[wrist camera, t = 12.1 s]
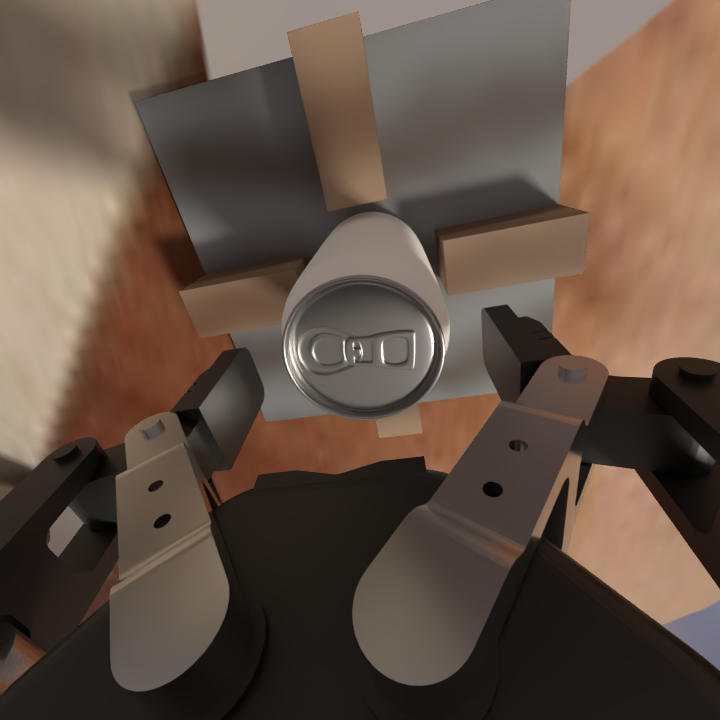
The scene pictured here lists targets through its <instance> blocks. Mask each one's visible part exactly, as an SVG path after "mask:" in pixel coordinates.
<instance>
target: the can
mask: <svg viewBox="0 0 720 720" xmlns="http://www.w3.org/2000/svg"><path fill="white" fill-rule="evenodd" d="M449 336H450V324H449V315H448V311H447V307H446V304H445V300H444V298H443V295H442V292H441V290H440V287H439V285H438V282H437V280H436V278H435V275H434V273H433V270H432V268H431V266H430V263H429V261H428V259H427V256H426V254H425V252H424V249H423V247H422V245H421V243H420V241H419V239H418V237H417V236H416V234H415V233H414V232H413V230H412V229H411V228H410V227H409V226H408V225H407V224H405V223H404V222H403V221H401V220H400V219H398V218H396V217H394V216H392V215H389V214H386V213H381V212H365V213H360V214H357V215H354V216H352V217H350V218H348V219H346V220H344V221H343V222H342V223H340V224H339V225H338V226H337V227H336V228H335V229H334V230H333V231H332V232H331V234H330V235H329V236H328V237H327V239H326V240H325V241H324V243H323V244H322V246H321V247H320V248H319V250H318V251H317V253H316V254H315V255H314V257H313V258H312V260H311V261H310V262H309V264H308V265H307V267H306V268H305V270H304V271H303V272H302V274H301V275H300V277H299V278H298V280H297V281H296V283H295V285H294V286H293V288H292V290H291V292H290V294H289V296H288V298H287V301H286V304H285V307H284V311H283V316H282V356H283V361H284V365H285V368H286V370H287V373H288V375H289V377H290V379H291V380H292V382H293V384H294V385H295V386H296V388H297V389H298V390H299V391H300V392H301V394H302V395H303V396H304V397H306V398H307V399H308V400H309V401H310V402H312V403H313V404H314V405H316V406H317V407H319V408H321V409H322V410H324V411H326V412H329V413H331V414H334V415H336V416H340V417H343V418H348V419H354V420H378V419H384V418H388V417H392V416H395V415H398V414H400V413H402V412H405V411H406V410H408V409H410V408H412V407H413V406H415V405H416V404H418V403H419V402H420V401H421V400H422V399H423V398H425V397H426V396H427V394H428V393H429V392H430V391H431V390H432V388H433V387H434V385H435V384H436V382H437V380H438V379H439V376H440V374H441V372H442V369H443V365H444V360H445V354H446V351H447V347H448V343H449Z"/></svg>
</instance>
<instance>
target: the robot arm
mask: <svg viewBox="0 0 720 720" xmlns="http://www.w3.org/2000/svg"><path fill="white" fill-rule="evenodd" d="M481 322H482V345H483V358H484V363H485V367H486V370H487V372H488V374H489V376H490V378H491V380H492V382H493V384H494V386H495V388H496V390H497V392H498V394H499V396H500V398H501V400H502V401H501V402H500V403H499V404H498V406H497V407H496V409H495V410H494V411H493V413H492V414H491V416H490V417H489V418H488V420H487V421H486V423H485V424H484V425H483V427H482V428H481V430H480V431H479V432H478V434H477V435H476V437H475V438H474V439H473V441H472V442H471V444H470V445H469V446H468V448H467V449H466V451H465V452H464V453H463V455H462V456H461V458H460V459H459V460H458V462H457V463H456V465H455V466H454V467H453V469H452V470H451V472H450V473H449V474H447V473H444V472H439V471H434V470H426V466H425V460H424V456H422V457H413V458H404V459H395V460H386V461H380V462H377V463H373V464H370V465H367V466H364V467H361V468H357V469H354V470H351V471H348V472H345V473H341V474H325V473H316V472H307V471H298V470H297V471H288V472H279V473H270V474H261V475H258V477H257V480H256V482H255V485H254V488H253V489H250V490H248V491H245V492H243V493H241V494H239V495H237V496H235V497H233V498H231V499H229V500H228V501H226V502H223V500H222V497H221V495H220V493H219V490H218V488H217V485H216V483H215V481H214V480H213V478H212V476H211V475H212V474H213V472H214V471H222V470H231V468H232V466H233V464H234V462H235V460H236V458H237V456H238V454H239V452H240V450H241V447H242V445H243V443H244V441H245V439H246V437H247V435H248V433H249V431H250V429H251V427H252V424H253V422H254V420H255V418H256V416H257V414H258V412H259V410H260V408H261V406H262V404H263V401H264V396H265V393H264V386H263V383H262V381H261V378H260V376H259V373H258V371H257V368H256V366H255V363H254V361H253V358H252V356H251V353H250V352H249V350H248V349H247V348H245V347H244V348H238V349H232V350H226V351H223V352H222V353H221V355H220V356H219V357H218V358H217V360H216V361H215V362H214V363H213V365H212V366H211V367H210V368H209V369H208V370H206V371H205V372H204V373H202V374H201V375H200V376H199V377H198V378H197V379H196V381H195V382H194V383H193V385H192V386H191V387H190V388H189V389H188V390H187V393H185V394H184V395H183V397H182V398H181V399H180V400H179V401H178V403H177V404H176V405H175V406H174V407H173V409H172V410H171V411H170V412H165V413H160V414H157V415H154V416H152V417H149V418H147V419H145V420H143V421H142V422H140V423H139V424H137V425H136V426H135V427H133V428H132V429H131V430H130V431H129V432H128V434H127V435H126V437H125V443H123V444H120V445H117V446H114V447H111V448H108V449H105V450H103V449H102V447H101V446H100V445H99V443H98V442H97V441H96V439H95V438H92V437H87V438H82V439H78V440H75V441H73V442H70V443H68V444H66V445H64V446H62V447H60V448H59V449H57V450H56V451H54V452H53V453H51V454H50V455H49V456H47V457H46V458H45V459H44V460H43V461H42V462H41V463H40V464H39V465H38V466H37V467H36V468H35V469H34V470H33V471H31V472H30V473H29V474H28V475H27V476H26V477H25V478H24V479H23V480H22V481H21V482H20V483H19V484H18V485H17V486H16V487H15V488H14V489H13V490H12V491H11V492H9V493H8V494H7V495H6V496H5V497H4V498H3V499H2V500H1V501H0V720H720V671H719V670H718V669H717V668H716V667H715V666H713V665H712V664H711V663H710V662H709V661H708V660H706V659H705V658H704V657H703V656H701V655H700V654H699V653H698V652H696V651H695V650H694V649H692V648H691V647H690V646H689V645H687V644H686V643H684V642H683V641H682V640H680V639H679V638H678V637H676V636H675V635H674V634H672V633H671V632H670V631H668V630H667V629H666V628H664V627H663V626H662V625H660V624H659V623H658V622H656V621H655V620H654V619H652V618H651V617H650V616H648V615H647V614H646V613H644V612H643V611H642V610H640V609H639V608H638V607H636V606H635V605H634V604H632V603H631V602H630V601H628V600H627V599H626V598H624V597H623V596H622V595H620V594H619V593H618V592H616V591H615V590H614V589H612V588H611V587H610V586H608V585H607V584H606V583H604V582H603V581H602V580H600V579H599V578H598V577H596V576H595V575H594V574H592V573H591V572H590V571H588V570H587V569H586V568H584V567H583V566H582V565H580V564H579V563H578V562H576V561H575V560H574V559H572V558H571V557H570V556H568V555H567V551H568V547H569V543H570V539H571V535H572V530H573V526H574V523H575V519H576V516H577V514H578V511H579V508H580V505H581V503H582V500H583V497H584V494H585V491H586V489H587V486H588V483H589V480H590V478H591V475H592V472H593V469H594V466H595V464H600V465H608V466H616V467H623V468H631V469H635V470H636V472H637V473H638V475H639V476H640V478H641V479H642V480H643V482H644V483H645V485H646V486H647V487H648V489H649V490H650V492H651V493H652V494H653V496H654V497H655V499H656V500H657V501H658V503H659V504H660V506H661V507H662V508H663V510H664V511H665V513H666V514H667V515H668V517H669V518H670V520H671V521H672V522H673V524H674V525H675V527H676V528H677V530H678V531H679V532H680V534H681V535H682V537H683V538H684V539H685V541H686V542H687V544H688V545H689V546H690V548H691V549H692V551H693V552H694V553H695V555H696V556H697V558H698V559H699V560H700V562H701V563H702V565H703V566H704V567H705V569H706V570H707V572H708V573H709V574H710V576H711V577H712V579H713V580H714V581H715V583H716V584H717V586H718V587H719V588H720V363H718V362H714V361H711V360H706V359H700V358H689V357H679V358H670V359H666V360H663V361H660V362H659V363H657V364H656V365H655V366H654V369H653V373H652V378H640V377H619V376H610V375H609V372H608V369H607V368H606V367H605V366H604V365H603V364H602V363H600V362H598V361H596V360H594V359H591V358H588V357H583V356H576V355H571V354H570V353H569V351H568V350H567V349H566V348H565V347H564V346H563V345H562V344H561V343H560V342H559V341H558V340H557V339H556V338H554V336H553V335H552V334H551V333H550V332H549V331H548V329H547V328H546V327H545V326H544V325H543V324H542V323H541V322H539V321H537V320H535V319H532V318H530V317H528V316H525V317H518V316H517V315H516V314H515V313H514V312H513V310H512V309H511V308H510V307H509V306H508V305H507V304H505V305H499V306H493V307H487V308H482V311H481ZM67 506H69V507H70V508H71V509H72V510H73V511H74V512H75V514H76V515H77V516H78V517H79V518H80V519H81V520H82V522H83V523H84V524H83V525H82V527H81V528H80V529H79V531H78V532H77V533H76V535H75V536H74V537H73V539H72V540H71V541H70V543H69V544H68V545H67V547H66V548H65V549H64V551H63V552H62V553H61V555H60V556H59V557H57V556H56V555H55V554H54V553H53V552H52V551H51V550H50V549H49V548H48V546H47V541H46V539H47V533H48V531H49V528H50V527H51V526H52V524H53V523H54V522H55V521H56V520H57V518H58V517H59V516H60V515H61V514H62V512H63V511H64V510H65V509H66V507H67ZM118 559H119V581H118V582H117V583H116V584H115V585H113V587H112V589H111V592H110V599H109V600H108V601H107V602H106V603H105V604H104V605H102V606H101V607H100V608H99V609H98V610H96V611H95V612H94V613H93V614H92V615H91V616H89V617H88V618H87V619H86V620H85V621H84V622H83V623H81V624H80V622H81V621H82V619H83V617H84V615H85V614H86V612H87V611H88V609H89V607H90V606H91V604H92V602H93V601H94V599H95V597H96V596H97V594H98V592H99V590H100V589H101V587H102V585H103V583H104V582H105V580H106V579H107V577H108V575H109V574H110V572H111V570H112V569H113V567H114V565H115V564H116V562H117V560H118ZM79 624H80V625H79Z"/></svg>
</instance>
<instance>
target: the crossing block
mask: <svg viewBox="0 0 720 720" xmlns="http://www.w3.org/2000/svg"><path fill="white" fill-rule="evenodd" d="M570 3H571V0H491V1H488V2H484V3H481V4H477V5H474V6H470V7H467V8H463V9H460V10H456V11H453V12H449V13H446V14H442V15H438V16H435V17H432V18H428V19H425V20H421V21H418V22H414V23H410V24H407V25H403V26H400V27H396V28H393V29H389V30H386V31H382V32H379V33H375V34H372V35H368V36H365V37H363V35H362V29H361V24H360V18H359V13H358V11H357V12H354V13H351V14H347V15H344V16H341V17H337V18H334V19H331V20H327V21H324V22H320V23H317V24H313V25H310V26H307V27H304V28H300V29H297V30H293V31H290V32H287V34H288V39H289V43H290V47H291V52H292V56H293V57H291V58H288V59H284V60H280V61H277V62H273V63H270V64H266V65H263V66H259V67H256V68H253V69H249V70H245V71H242V72H238V73H235V74H231V75H228V76H225V77H220V78H217V79H213V80H210V81H206V82H203V83H199V84H196V85H192V86H189V87H185V88H182V89H178V90H175V91H171V92H168V93H164V94H161V95H157V96H154V97H150V98H147V99H143V100H140V101H136V102H134V103H135V105H136V107H137V110H138V112H139V115H140V117H141V120H142V122H143V124H144V127H145V129H146V132H147V134H148V136H149V139H150V141H151V144H152V146H153V149H154V151H155V153H156V156H157V158H158V161H159V163H160V166H161V168H162V170H163V173H164V175H165V178H166V180H167V183H168V185H169V187H170V190H171V192H172V195H173V197H174V200H175V202H176V204H177V207H178V209H179V212H180V214H181V217H182V219H183V221H184V224H185V226H186V229H187V231H188V234H189V236H190V238H191V241H192V243H193V246H194V248H195V250H196V253H197V255H198V258H199V260H200V263H201V265H202V267H203V270H204V272H205V275H204V276H202V277H201V278H199V279H198V280H196V281H195V282H193V283H191V284H190V285H188V286H187V287H185V288H184V289H182V290H181V291H179V293H180V295H181V297H182V299H183V301H184V304H185V306H186V308H187V310H188V312H189V315H190V317H191V319H192V321H193V323H194V325H195V328H196V330H197V332H198V334H199V336H200V338H203V337H209V336H215V335H221V334H227V333H230V335H231V338H232V340H233V343H234V345H235V348H236V349H238V348H244V347H245V348H247V349H248V350H249V352H250V353H251V356H252V358H253V361H254V363H255V366H256V368H257V371H258V373H259V376H260V378H261V381H262V383H263V386H264V393H265V396H264V401H263V404H262V406H261V411H262V413H263V415H264V418H265V420H266V422H271V421H279V420H287V419H295V418H303V417H311V416H318V415H326V414H331V413H329V412H326V411H324V410H322V409H321V408H319V407H317V406H316V405H314V404H313V403H312V402H310V401H309V400H308V399H307V398H306V397H304V396H303V395H302V394H301V392H300V391H299V390H298V389H297V388H296V386H295V385H294V384H293V382H292V380H291V379H290V377H289V375H288V373H287V370H286V368H285V365H284V361H283V356H282V316H283V311H284V307H285V304H286V301H287V298H288V296H289V294H290V292H291V290H292V288H293V286H294V285H295V283H296V281H297V280H298V278H299V277H300V275H301V274H302V272H303V271H304V270H305V268H306V267H307V265H308V264H309V262H310V261H311V260H312V258H313V257H314V255H315V254H316V253H317V251H318V250H319V248H320V247H321V246H322V244H323V243H324V241H325V240H326V239H327V237H328V236H329V235H330V234H331V232H332V231H333V230H334V229H335V228H336V227H337V226H338V225H339V224H340V223H342V222H343V221H344V220H346V219H348V218H350V217H352V216H354V215H357V214H360V213H365V212H381V213H386V214H389V215H392V216H394V217H396V218H398V219H400V220H401V221H403V222H404V223H405V224H407V225H408V226H409V227H410V228H411V229H412V230H413V232H414V233H415V234H416V236H417V237H418V239H419V241H420V243H421V245H422V247H423V249H424V252H425V254H426V256H427V259H428V261H429V263H430V266H431V268H432V270H433V273H434V275H435V278H436V280H437V282H438V285H439V287H440V290H441V292H442V295H443V298H444V300H445V304H446V307H447V311H448V315H449V324H450V336H449V343H448V347H447V351H446V354H445V360H444V365H443V369H442V372H441V374H440V376H439V379H438V380H437V382H436V384H435V385H434V387H433V388H432V390H431V391H430V392H429V393H428V394H427V396H426V397H425V398H423V399H422V400H421V401H420V402H428V401H436V400H444V399H452V398H460V397H468V396H475V395H483V394H491V393H498V392H497V390H496V388H495V386H494V384H493V382H492V380H491V378H490V376H489V374H488V372H487V370H486V367H485V363H484V358H483V345H482V322H481V311H482V308H487V307H493V306H499V305H505V304H507V305H508V306H509V307H510V308H511V309H512V310H513V312H514V313H515V314H516V315H517V316H518V317H525V316H528V317H530V318H532V319H535V320H537V321H539V322H541V323H542V324H543V325H544V326H545V327H546V328H547V329H548V331H549V332H550V333H551V334H552V319H553V302H554V284H555V278H558V277H563V276H569V275H575V274H581V273H584V266H585V256H586V245H587V235H588V225H589V214H590V213H589V212H585V211H581V210H578V209H574V208H570V207H566V206H563V205H559V197H560V180H561V162H562V145H563V127H564V110H565V92H566V74H567V56H568V40H569V39H568V38H569V22H570ZM420 402H419V403H420ZM419 403H418V404H416V405H415V406H413V407H412V408H410V409H408V410H406V411H405V412H402V413H400V414H398V415H395V416H392V417H388V418H384V419H378V420H376V424H377V428H378V433H379V437H380V438H383V437H392V436H400V435H409V434H418V433H423V431H422V424H421V417H420V409H419Z"/></svg>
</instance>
